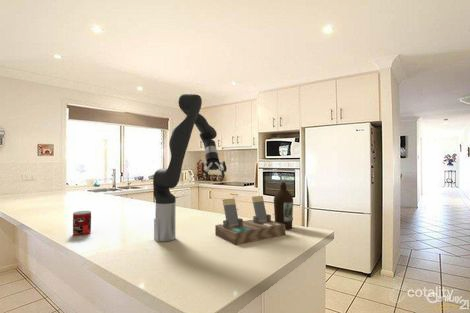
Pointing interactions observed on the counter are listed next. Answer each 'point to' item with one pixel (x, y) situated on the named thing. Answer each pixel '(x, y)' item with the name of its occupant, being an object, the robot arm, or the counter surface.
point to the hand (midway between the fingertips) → (215, 178)
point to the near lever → (231, 212)
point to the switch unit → (249, 230)
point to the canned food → (81, 223)
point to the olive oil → (283, 206)
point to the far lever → (259, 208)
